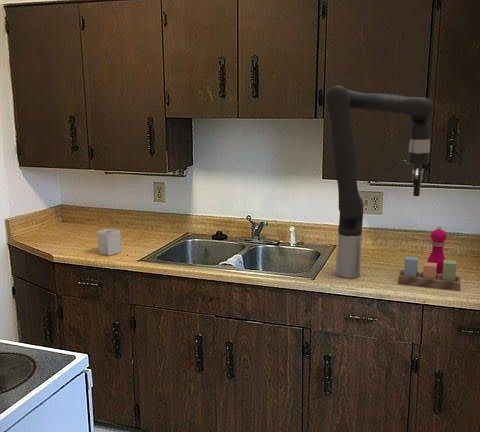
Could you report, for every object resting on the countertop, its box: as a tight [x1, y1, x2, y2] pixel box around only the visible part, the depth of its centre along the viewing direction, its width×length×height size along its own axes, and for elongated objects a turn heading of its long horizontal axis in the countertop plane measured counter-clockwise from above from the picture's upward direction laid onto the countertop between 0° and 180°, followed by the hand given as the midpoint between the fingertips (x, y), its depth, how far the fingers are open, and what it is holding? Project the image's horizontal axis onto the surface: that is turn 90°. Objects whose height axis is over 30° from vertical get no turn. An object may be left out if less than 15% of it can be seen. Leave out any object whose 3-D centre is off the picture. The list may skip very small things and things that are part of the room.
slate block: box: [403, 256, 419, 277], centre depth 211 cm, size 5×5×7 cm
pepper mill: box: [426, 225, 447, 274], centre depth 219 cm, size 7×7×20 cm
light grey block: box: [96, 228, 122, 257], centre depth 255 cm, size 11×12×10 cm
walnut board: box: [397, 269, 461, 292], centre depth 209 cm, size 22×9×3 cm, turn 68°
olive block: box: [442, 259, 458, 281], centre depth 206 cm, size 5×5×7 cm
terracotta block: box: [422, 261, 437, 279], centre depth 208 cm, size 5×5×7 cm
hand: (416, 195), depth 210 cm, fingers closed
